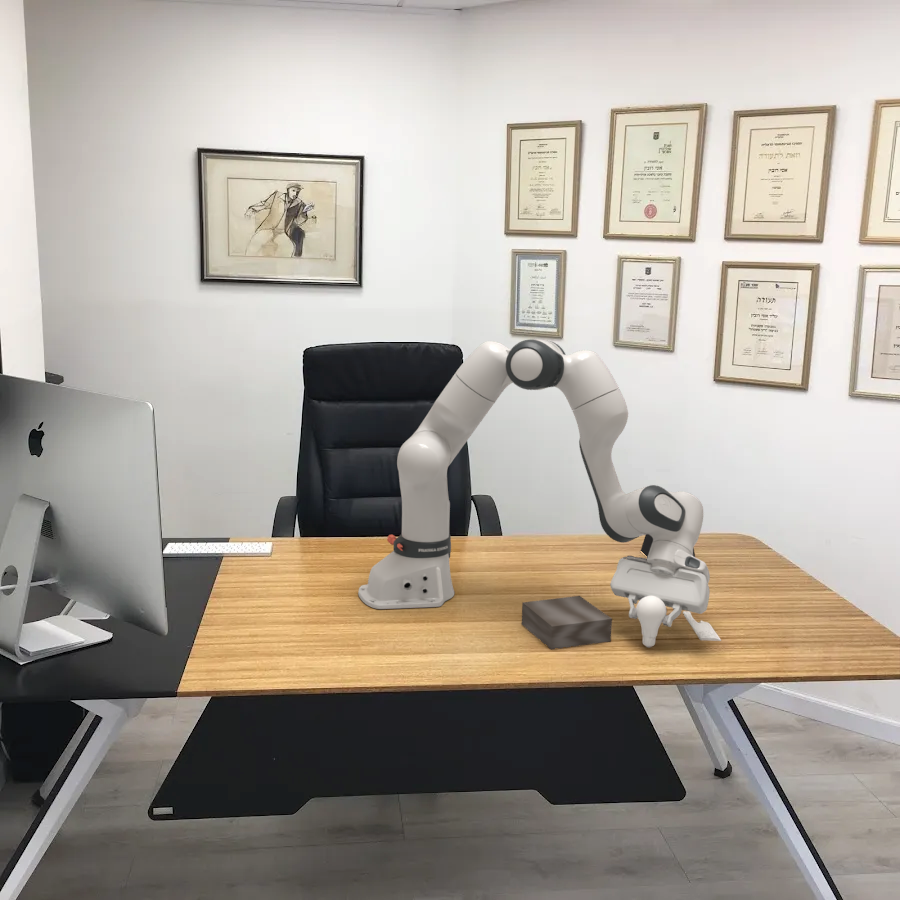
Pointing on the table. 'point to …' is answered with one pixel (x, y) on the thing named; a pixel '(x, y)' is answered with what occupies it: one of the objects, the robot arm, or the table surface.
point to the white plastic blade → (702, 628)
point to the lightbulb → (650, 617)
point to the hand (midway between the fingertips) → (649, 621)
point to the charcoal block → (566, 622)
